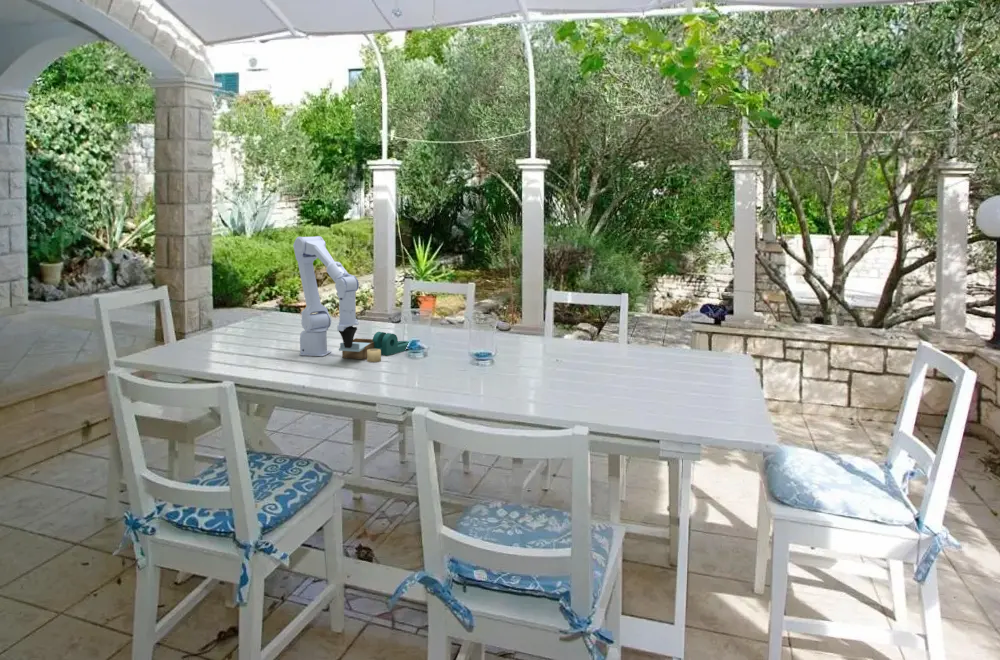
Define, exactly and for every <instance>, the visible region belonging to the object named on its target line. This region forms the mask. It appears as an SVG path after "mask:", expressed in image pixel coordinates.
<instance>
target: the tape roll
mask: <svg viewBox="0 0 1000 660" xmlns="http://www.w3.org/2000/svg"><path fill="white" fill-rule="evenodd" d="M366 361H367V362H368V363H379V362H381V361H382V355H381V350H380V349H368V350H367V359H366Z"/></svg>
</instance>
